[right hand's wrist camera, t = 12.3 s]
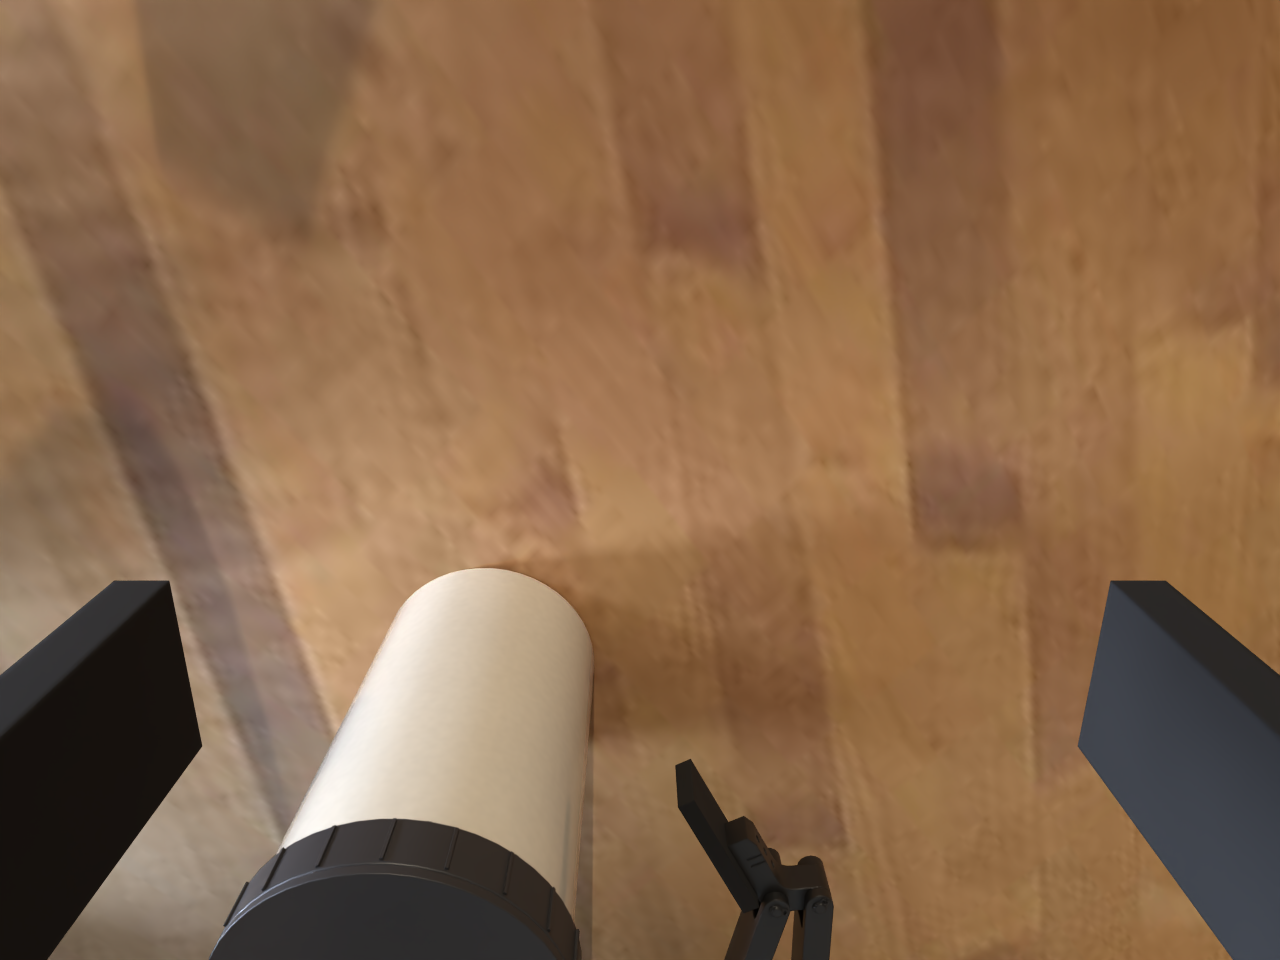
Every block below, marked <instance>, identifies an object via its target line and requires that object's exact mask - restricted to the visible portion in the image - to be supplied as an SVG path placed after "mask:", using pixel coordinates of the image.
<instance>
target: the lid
mask: <svg viewBox="0 0 1280 960" xmlns="http://www.w3.org/2000/svg"><path fill="white" fill-rule="evenodd" d="M223 926H225V928H224V930H223V932H222V934H221V936H220V938H219V940H218V942H217V943H216V946H215V947H214V949H213V951H212V953H211V955H210V957H209V960H582V959H581V947H580V942H579V929H576V927H575V925H574V922H573V919H572V917H571V914H570V913H569V911H568V909H567V908H566V906H565V904H564V902H563V901H562V899H561V898H560V896H559V895H558V894H557V892H556V889H555V887H552V886H551V885H550V883H549V882H548V881H547V880H546V879H545V878H544V877H543V876H542V875H541V874H540V873H539V872H538V871H537V870H536V869H534V868H533V867H532V866H531V865H529V864H528V863H527V862H525V861H524V860H523V859H521V858H520V857H519V856H518V855H516V854H514V852H512V851H509V850H507V849H506V848H504V847H502V846H501V845H499V844H497V843H495V842H493V841H491V840H488V839H486V838H484V837H482V836H479V835H477V834H475V833H472V832H468V831H465V830H462V829H459V828H457V827H453V826H449V825H444V824H439V823H435V822H431V821H421V820H412V819H397V818H393V819H373V820H363V821H355V822H351V823H346V824H342V825H333V826H332V827H330V828H327V829H324V830H321V831H319V832H316V833H313V834H311V835H309V836H307V837H305V838H303V839H301V840H299V841H296V842H294V843H293V844H291V845H290V846H288V847H287V848H284V847H283V848H281V850H280V852H279V853H278V854H276V855H275V856H274V857H273V858H272V859H271V860H269V861H268V862H267V863H266V864H265V865H264V866H263V867H262V868H261V869H260V870H259V871H258V872H257V873H256V875H255V876H254V877H253V878H252V880H251V881H250V882H246V883H245V885H244V887H243V889H242V891H241V893H240V895H239V896H238V898H237V900H236V902H235V904H234V906H233V908H232V910H231V912H230V914H229V916H228V917H227V919H226V921H225V923H224V925H223Z"/></svg>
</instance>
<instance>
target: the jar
mask: <svg viewBox="0 0 1280 960" xmlns="http://www.w3.org/2000/svg"><path fill="white" fill-rule="evenodd" d="M593 676H594V653H593V647H592V643H591V640H590V637H589V633H588V631H587V629H586V627H585V625H584V623H583V621H582V620H581V618H580V617H579V615H578V614H577V612H576V611H575V610H574V608H573V607H572V606H571V605H570V604H569V603H568V602H567V601H566V600H565V599H564V598H563V597H562V596H561V595H559V594H558V593H557V592H556V591H554V590H553V589H551V588H550V587H548V586H547V585H546V584H544V583H542V582H540V581H538V580H536V579H534V578H531V577H529V576H526V575H523V574H521V573H517V572H513V571H509V570H503V569H495V568H475V569H466V570H461V571H457V572H453V573H449V574H447V575H444V576H441V577H439V578H437V579H435V580H433V581H431V582H429V583H427V584H426V585H424V586H423V587H421V588H420V589H419V590H417V591H416V592H415V593H414V594H413V595H412V596H411V597H410V598H409V599H407V600H406V602H405V603H404V604H403V606H402V607H401V608H400V609H399V611H398V613H397V615H396V616H395V618H394V620H393V622H392V624H391V626H390V628H389V630H388V632H387V634H386V636H385V638H384V640H383V642H382V644H381V646H380V648H379V650H378V652H377V654H376V656H375V658H374V660H373V662H372V664H371V666H370V668H369V670H368V672H367V674H366V676H365V678H364V679H363V681H362V683H361V685H360V687H359V689H358V691H357V693H356V695H355V697H354V699H353V701H352V703H351V705H350V707H349V709H348V711H347V713H346V715H345V717H344V719H343V721H342V723H341V725H340V727H339V729H338V731H337V733H336V735H335V737H334V739H333V741H332V743H331V745H330V747H329V749H328V751H327V753H326V755H325V757H324V759H323V761H322V763H321V765H320V767H319V769H318V771H317V773H316V775H315V777H314V779H313V781H312V783H311V785H310V787H309V789H308V791H307V793H306V795H305V797H304V799H303V801H302V803H301V805H300V807H299V809H298V811H297V813H296V815H295V817H294V819H293V821H292V823H291V824H290V826H289V828H288V830H287V832H286V834H285V836H284V838H283V840H282V842H281V844H280V846H279V848H278V850H277V852H276V854H278V853H279V852H280V850H281V848H283V847H284V848H287V847H288V846H290V845H291V844H293V843H294V842H296V841H299V840H301V839H303V838H305V837H307V836H309V835H311V834H313V833H316V832H319V831H321V830H324V829H327V828H330V827H332V826H333V825H342V824H346V823H351V822H355V821H363V820H373V819H393V818H397V819H412V820H421V821H431V822H435V823H439V824H444V825H449V826H453V827H457V828H459V829H462V830H465V831H468V832H472V833H475V834H477V835H479V836H482V837H484V838H486V839H488V840H491V841H493V842H495V843H497V844H499V845H501V846H502V847H504V848H506V849H507V850H509V851H512V852H514V854H516V855H518V856H519V857H520V858H521V859H523V860H524V861H525V862H527V863H528V864H529V865H531V866H532V867H533V868H534V869H536V870H537V871H538V872H539V873H540V874H541V875H542V876H543V877H544V878H545V879H546V880H547V881H548V882H549V883H550V885H551V886H552V887H555V889H556V892H557V894H558V895H559V896H560V898H561V899H562V901H563V902H564V904H565V906H566V908H567V909H568V911H569V913H570V914H571V917H572V919H573V922H574V916H575V903H576V890H577V878H578V865H579V853H580V840H581V827H582V815H583V802H584V789H585V777H586V764H587V751H588V739H589V726H590V714H591V701H592V688H593ZM276 854H275V855H276Z"/></svg>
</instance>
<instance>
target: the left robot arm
mask: <svg viewBox="0 0 1280 960" xmlns="http://www.w3.org/2000/svg"><path fill="white" fill-rule="evenodd" d="M675 767H676V782H677V798H678V808H679V810H680V811H681V813H682V814H683V816H684V818H685V819H686V821H687V822H688V824H689V826H690V827H691V829H692V831H693V832H694V834H695V835H696V837H697V839H698V840H699V842H700V844H701V845H702V847H703V848H704V850H705V852H706V853H707V855H708V856H709V858H710V860H711V861H712V863H713V865H714V866H715V868H716V869H717V871H718V873H719V874H720V876H721V878H722V879H723V881H724V882H725V884H726V886H727V887H728V889H729V891H730V892H731V894H732V895H733V897H734V899H735V900H736V902H737V903H738V905H739V907H740V908H741V910H742V911H741V914H740V916H739V919H738V922H737V925H736V928H735V931H734V933H733V936H732V939H731V942H730V945H729V948H728V950H727V953H726V956H725V959H724V960H772V959H773V956H774V953H775V951H776V948H777V946H778V943H779V940H780V938H781V935H782V932H783V930H784V927H785V924H786V922H787V919H788V916H789V914H790V911H794V925H793V941H792V957H791V960H829V956H830V944H831V932H832V920H833V908H834V906H833V901H832V897H831V893H830V889H829V885H828V881H827V877H826V874H825V870H824V866H823V862H822V861H821V859H820V858H818V857H816V856H806V857H804V858H802V859H801V860H800V861H799V862H798V865H795V866H785V865H781V861H780V856H779V853H778V852H777V851H776V850H774V849H772V848H767V846H766V844H765V843H764V841H763V839H762V838H761V836H760V834H759V832H758V831H757V829H756V827H755V825H754V824H753V822H752V821H750V820H749V819H747V818H746V817H745V816H743V817H740V818H738V819H735V820H733V821H730V822H728V821H727V819H726V817H725V816H724V814H723V812H722V811H721V809H720V807H719V806H718V804H717V802H716V801H715V799H714V797H713V796H712V794H711V792H710V791H709V789H708V787H707V786H706V784H705V782H704V781H703V779H702V777H701V776H700V774H699V772H698V771H697V769H696V767H695V766H694V764H693V762H692V761H691V759H689V760H687V761H685V762H682V763H680V764H677V765H675Z"/></svg>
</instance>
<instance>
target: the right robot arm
mask: <svg viewBox="0 0 1280 960" xmlns="http://www.w3.org/2000/svg"><path fill="white" fill-rule="evenodd" d="M201 747H202V742H201V737H200V732H199V727H198V722H197V717H196V712H195V707H194V702H193V697H192V692H191V687H190V682H189V677H188V672H187V667H186V662H185V657H184V652H183V647H182V642H181V637H180V632H179V627H178V622H177V617H176V612H175V607H174V602H173V597H172V592H171V587H170V582H169V581H113V582H112V583H111V584H110V585H109V586H107V587H106V588H105V589H104V590H103V591H101V592H100V593H99V594H98V595H97V596H95V597H94V598H93V599H92V600H90V601H89V602H88V603H87V604H86V605H84V606H83V607H82V608H81V609H80V610H78V611H77V612H76V613H75V614H74V615H72V616H71V617H70V618H69V619H68V620H66V621H65V622H64V623H63V624H62V625H60V626H59V627H58V628H57V629H56V630H54V631H53V632H52V633H51V634H50V635H48V636H47V637H46V638H45V639H44V640H42V641H41V642H40V643H39V644H38V645H36V646H35V647H34V648H33V649H31V650H30V651H29V652H28V653H27V654H25V655H24V656H23V657H22V658H21V659H19V660H18V661H17V662H16V663H15V664H13V665H12V666H11V667H10V668H9V669H7V670H6V671H5V672H4V673H3V674H1V675H0V960H47V959H48V958H49V956H50V955H51V953H52V952H53V951H54V949H55V948H56V947H57V945H58V944H59V942H60V941H61V940H62V938H63V937H64V936H65V934H66V933H67V931H68V930H69V929H70V927H71V926H72V925H73V923H74V922H75V920H76V919H77V918H78V916H79V915H80V914H81V912H82V911H83V909H84V908H85V907H86V905H87V904H88V903H89V901H90V900H91V898H92V897H93V896H94V894H95V893H96V892H97V890H98V889H99V887H100V886H101V885H102V883H103V882H104V881H105V879H106V878H107V876H108V875H109V874H110V872H111V871H112V870H113V868H114V867H115V865H116V864H117V863H118V861H119V860H120V859H121V857H122V856H123V854H124V853H125V852H126V850H127V849H128V848H129V846H130V845H131V843H132V842H133V841H134V839H135V838H136V837H137V835H138V834H139V832H140V831H141V830H142V828H143V827H144V826H145V824H146V823H147V821H148V820H149V819H150V817H151V816H152V815H153V813H154V812H155V810H156V809H157V808H158V806H159V805H160V804H161V802H162V801H163V799H164V798H165V797H166V795H167V794H168V793H169V791H170V790H171V788H172V787H173V786H174V784H175V783H176V782H177V780H178V779H179V777H180V776H181V775H182V773H183V772H184V771H185V769H186V768H187V766H188V765H189V764H190V762H191V761H192V760H193V758H194V757H195V755H196V754H197V753H198V751H199V750H200V749H201ZM1078 747H1079V749H1080V750H1081V751H1082V753H1083V754H1084V755H1085V757H1086V758H1087V760H1088V761H1089V762H1090V764H1091V765H1092V766H1093V768H1094V769H1095V771H1096V772H1097V773H1098V775H1099V776H1100V777H1101V779H1102V780H1103V782H1104V783H1105V784H1106V786H1107V787H1108V788H1109V790H1110V791H1111V793H1112V794H1113V795H1114V797H1115V798H1116V799H1117V801H1118V802H1119V804H1120V805H1121V806H1122V808H1123V809H1124V810H1125V812H1126V813H1127V815H1128V816H1129V817H1130V819H1131V820H1132V821H1133V823H1134V824H1135V826H1136V827H1137V828H1138V830H1139V831H1140V832H1141V834H1142V835H1143V837H1144V838H1145V839H1146V841H1147V842H1148V843H1149V845H1150V846H1151V848H1152V849H1153V850H1154V852H1155V853H1156V854H1157V856H1158V857H1159V859H1160V860H1161V861H1162V863H1163V864H1164V865H1165V867H1166V868H1167V870H1168V871H1169V872H1170V874H1171V875H1172V876H1173V878H1174V879H1175V881H1176V882H1177V883H1178V885H1179V886H1180V887H1181V889H1182V890H1183V892H1184V893H1185V894H1186V896H1187V897H1188V898H1189V900H1190V901H1191V903H1192V904H1193V905H1194V907H1195V908H1196V909H1197V911H1198V912H1199V914H1200V915H1201V916H1202V918H1203V919H1204V920H1205V922H1206V923H1207V925H1208V926H1209V927H1210V929H1211V930H1212V931H1213V933H1214V934H1215V936H1216V937H1217V938H1218V940H1219V941H1220V942H1221V944H1222V945H1223V947H1224V948H1225V949H1226V951H1227V952H1228V953H1229V955H1230V956H1231V958H1232V959H1233V960H1280V675H1279V674H1277V673H1276V672H1275V671H1274V670H1273V669H1271V668H1270V667H1269V666H1268V665H1267V664H1265V663H1264V662H1263V661H1262V660H1261V659H1259V658H1258V657H1257V656H1256V655H1255V654H1253V653H1252V652H1251V651H1250V650H1249V649H1247V648H1246V647H1245V646H1244V645H1242V644H1241V643H1240V642H1239V641H1238V640H1236V639H1235V638H1234V637H1233V636H1232V635H1230V634H1229V633H1228V632H1227V631H1226V630H1224V629H1223V628H1222V627H1221V626H1220V625H1218V624H1217V623H1216V622H1215V621H1214V620H1212V619H1211V618H1210V617H1209V616H1208V615H1206V614H1205V613H1204V612H1203V611H1202V610H1200V609H1199V608H1198V607H1197V606H1196V605H1194V604H1193V603H1192V602H1191V601H1190V600H1188V599H1187V598H1186V597H1185V596H1183V595H1182V594H1181V593H1180V592H1179V591H1177V590H1176V589H1175V588H1174V587H1173V586H1171V585H1170V584H1169V583H1168V582H1167V581H1111V582H1110V587H1109V592H1108V597H1107V602H1106V607H1105V612H1104V617H1103V622H1102V627H1101V632H1100V637H1099V642H1098V647H1097V652H1096V657H1095V662H1094V667H1093V672H1092V677H1091V682H1090V687H1089V692H1088V697H1087V702H1086V707H1085V712H1084V717H1083V722H1082V727H1081V732H1080V737H1079V742H1078Z"/></svg>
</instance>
